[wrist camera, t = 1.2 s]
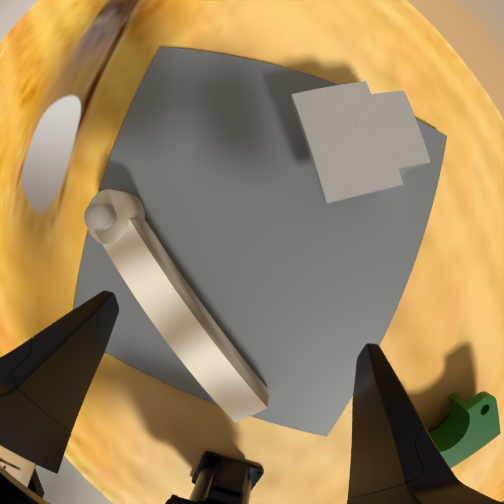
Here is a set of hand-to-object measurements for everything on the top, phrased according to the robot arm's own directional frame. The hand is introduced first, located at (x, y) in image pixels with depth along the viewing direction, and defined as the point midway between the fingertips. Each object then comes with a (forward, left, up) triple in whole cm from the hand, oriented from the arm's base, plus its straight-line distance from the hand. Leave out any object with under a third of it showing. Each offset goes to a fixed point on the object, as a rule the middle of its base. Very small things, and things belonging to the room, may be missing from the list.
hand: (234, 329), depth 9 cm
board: (+2, +2, -13) cm, 13 cm away
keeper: (+11, -3, -13) cm, 17 cm away
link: (-4, +5, -11) cm, 13 cm away
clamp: (-9, -22, -13) cm, 28 cm away
